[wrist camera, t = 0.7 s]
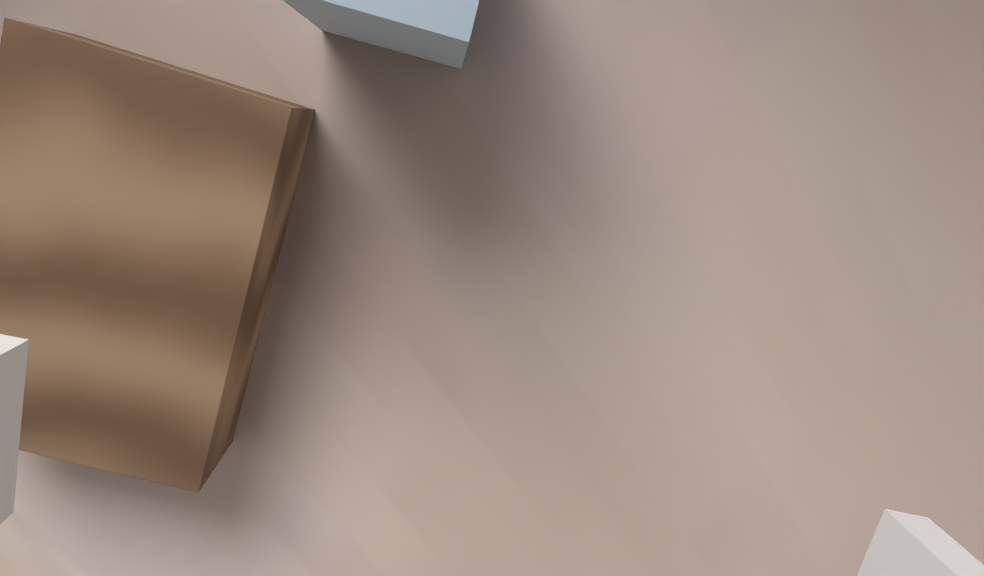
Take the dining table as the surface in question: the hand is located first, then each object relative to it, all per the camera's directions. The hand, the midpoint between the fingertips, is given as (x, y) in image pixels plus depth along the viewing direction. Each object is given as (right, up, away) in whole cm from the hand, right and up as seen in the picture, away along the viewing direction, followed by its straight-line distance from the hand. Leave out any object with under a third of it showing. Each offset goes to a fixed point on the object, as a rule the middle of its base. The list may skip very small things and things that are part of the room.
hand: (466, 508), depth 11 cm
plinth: (-14, +5, +21) cm, 26 cm away
